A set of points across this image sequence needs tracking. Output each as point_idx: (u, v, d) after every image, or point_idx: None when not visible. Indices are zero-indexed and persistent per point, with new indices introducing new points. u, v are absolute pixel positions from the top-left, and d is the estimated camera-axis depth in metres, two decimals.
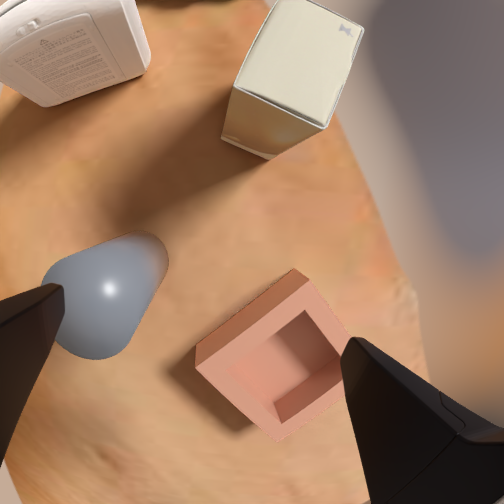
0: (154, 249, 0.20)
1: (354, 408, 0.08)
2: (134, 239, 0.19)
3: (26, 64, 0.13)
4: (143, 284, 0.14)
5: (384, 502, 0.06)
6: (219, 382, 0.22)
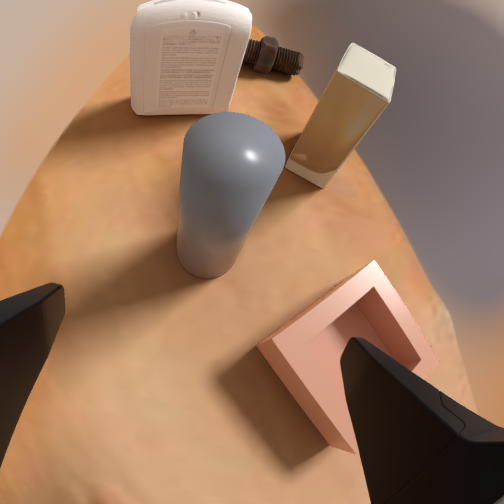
0: None
1: (354, 408, 0.08)
2: None
3: (166, 47, 0.21)
4: None
5: (384, 502, 0.06)
6: (297, 360, 0.19)
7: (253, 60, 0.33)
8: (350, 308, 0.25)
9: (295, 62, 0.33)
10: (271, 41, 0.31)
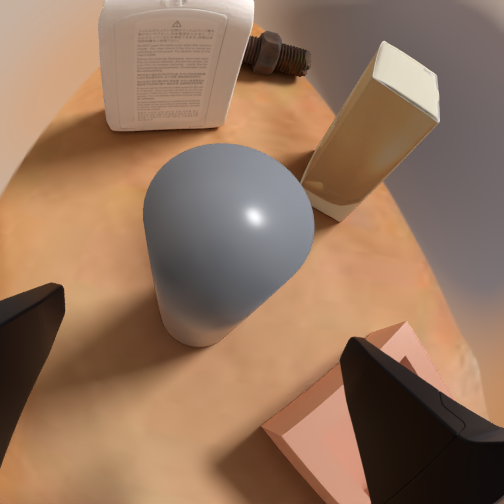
0: None
1: (354, 408, 0.08)
2: None
3: (143, 44, 0.16)
4: None
5: (384, 502, 0.06)
6: (312, 457, 0.13)
7: (252, 60, 0.27)
8: None
9: (302, 61, 0.28)
10: (273, 37, 0.26)
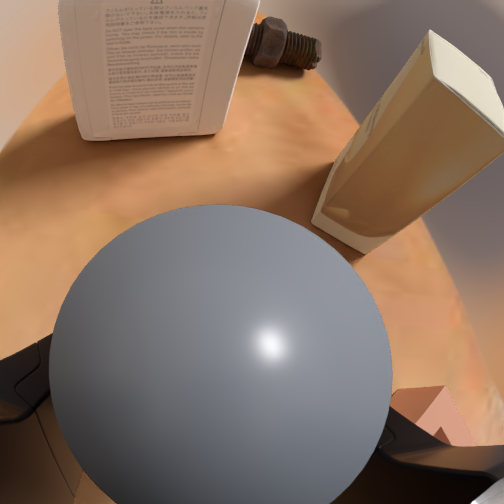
0: None
1: None
2: None
3: (113, 29, 0.11)
4: None
5: None
6: None
7: (253, 50, 0.23)
8: None
9: (311, 52, 0.23)
10: (277, 23, 0.21)
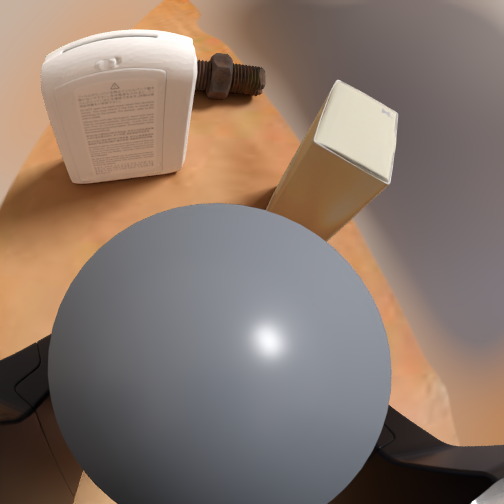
0: None
1: None
2: None
3: (85, 109, 0.16)
4: None
5: None
6: None
7: (205, 86, 0.28)
8: None
9: (256, 81, 0.28)
10: (223, 59, 0.26)
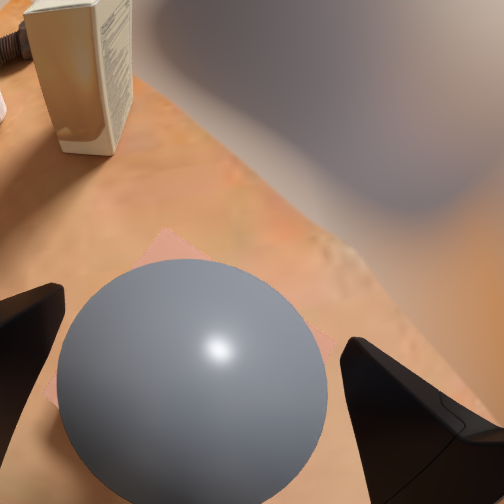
0: None
1: (354, 408, 0.08)
2: None
3: None
4: None
5: (384, 502, 0.06)
6: None
7: (18, 51, 0.21)
8: None
9: None
10: None
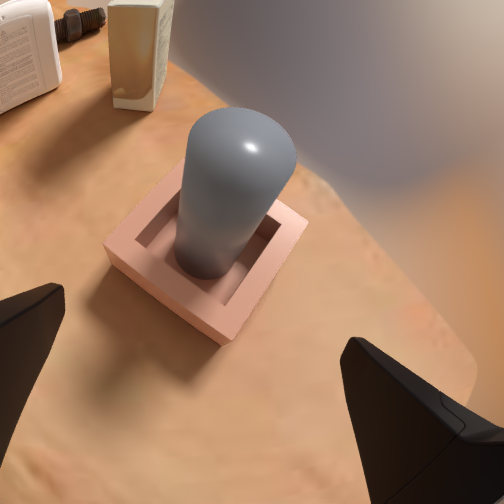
0: None
1: (354, 408, 0.08)
2: None
3: None
4: None
5: (384, 502, 0.06)
6: (131, 256, 0.19)
7: (64, 34, 0.28)
8: None
9: (98, 16, 0.29)
10: (72, 12, 0.27)
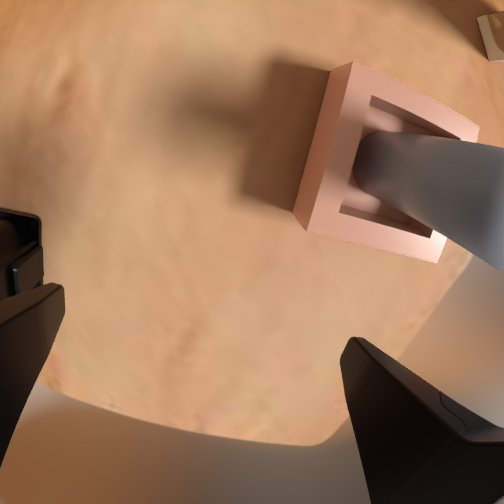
0: None
1: (354, 408, 0.08)
2: None
3: None
4: None
5: (384, 502, 0.06)
6: (353, 97, 0.15)
7: None
8: None
9: None
10: None
